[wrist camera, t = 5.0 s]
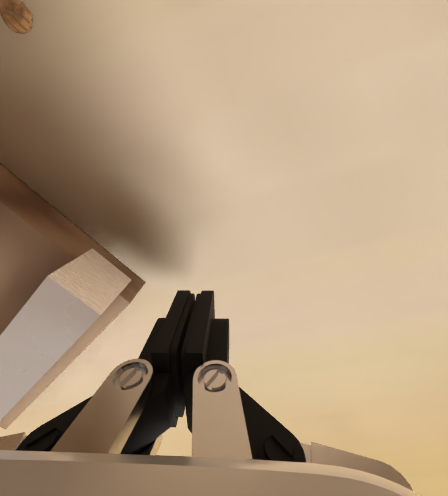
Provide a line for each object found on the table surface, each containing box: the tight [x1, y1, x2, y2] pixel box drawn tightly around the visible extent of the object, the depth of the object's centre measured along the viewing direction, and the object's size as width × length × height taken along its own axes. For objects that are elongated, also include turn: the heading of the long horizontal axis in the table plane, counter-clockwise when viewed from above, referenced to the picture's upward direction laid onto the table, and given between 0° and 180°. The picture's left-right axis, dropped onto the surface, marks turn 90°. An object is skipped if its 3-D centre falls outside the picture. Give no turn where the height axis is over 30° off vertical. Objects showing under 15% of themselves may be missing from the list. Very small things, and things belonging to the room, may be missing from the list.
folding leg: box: [0, 248, 131, 420], centre depth 13 cm, size 16×2×3 cm, turn 136°
